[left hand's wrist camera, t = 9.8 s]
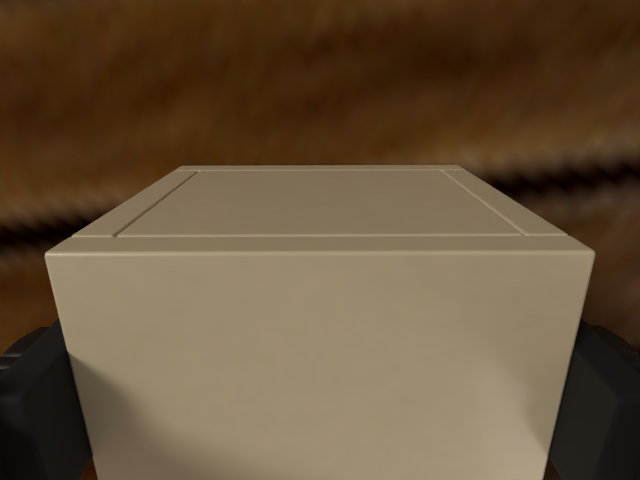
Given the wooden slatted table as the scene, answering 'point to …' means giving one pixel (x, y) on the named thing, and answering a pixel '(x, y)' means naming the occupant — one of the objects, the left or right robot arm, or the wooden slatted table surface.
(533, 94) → the wooden slatted table surface
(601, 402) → the left robot arm
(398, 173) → the cabinet
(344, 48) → the wooden slatted table surface
